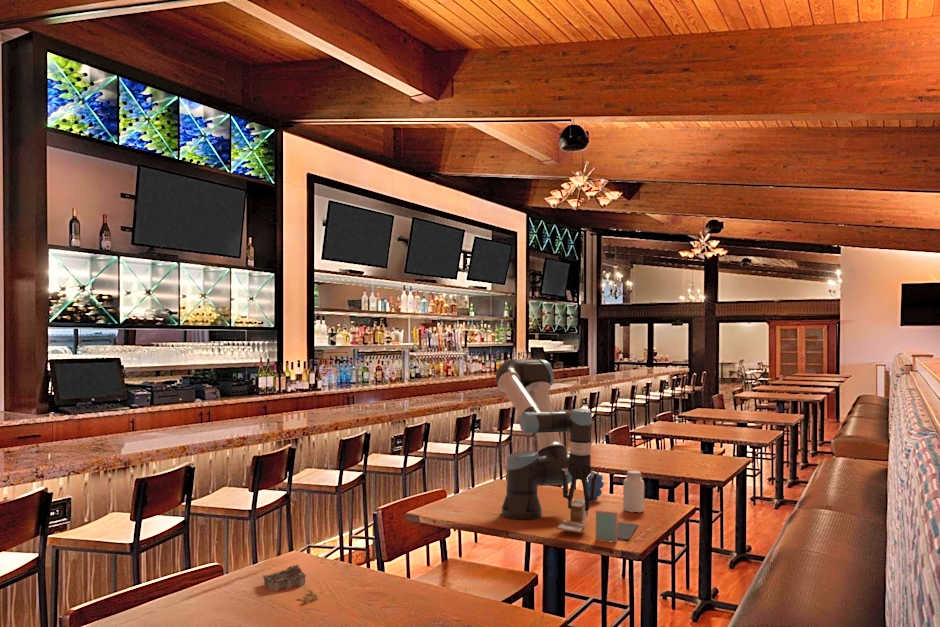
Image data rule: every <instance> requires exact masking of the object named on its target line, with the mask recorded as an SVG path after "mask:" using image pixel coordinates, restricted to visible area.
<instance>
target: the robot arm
mask: <svg viewBox="0 0 940 627" xmlns="http://www.w3.org/2000/svg"><path fill="white" fill-rule="evenodd" d="M494 378H495V379H494V380H495V384H496V386H497V387H498V389H499V391H501V392H502V393H503V394H504V393H505V395H506V396H507V398H508V400H509V401H510V403H511V404H512V405H513V407H514V409H515V410H516V411H517V413H518V414H519V419H518V421H519V423H518V424H519V426H520V430H521V431H522V432H523V433H524V434H525V433H526V434H536V439H537V443H538V447H539V449H538V450H537V451H536V450H521V451H515V452H512V453H510V454H509V455H508V457H507V461H506V494H505V496H504V500H503V502H502V507H501V515H502V516H503V517H504V518H509V519H513V520H533V519H534V520H535V519H538V518H541V517H542V515H543V514H542V513H543V509H542V506H541V503H540V499H539V495H538V487H541V486H542V487H543V486H562V496H563V498H565V499H567V501H568V502H567V509H568V510H569V509H570V510H571V505H572V504H573V503H574V502H575V501H576V499H575V498H574V494H575V490H576V484H577V481H578V480H580V481H581V483H582V490H583V496H584V498H583V499H585V500H584V501H583V514H582V521H583V522H585V521H586V520H587V517H586V511H588V512H589V510H590V503H591V502H593V500H594V499H595V490H596V479H597V477H598V475H599V472H598V471H595V470H593V469H592V467H591V464H592V463H591V462H592V461H591V459H592V458H591V457H592V456H591V453H592V433H593V432H592V428H593V418H592V417H593V416H592V412H591V410H589V409H585V408H574V409H572V410H570V409H560V410H557V411H554V409H553V406H552V402H551V396H550V393H549V391H550V390H551V388H552V386H553V384H554V379H555V378H554V371H553V367H552V365H551V364H550V362H548V360H545V359H543V358H542V359H541V358H540V359H539V358H530V359H526V358H524V359H523V358H517V359H516V358H513V359H508V360H505V361H503V362H502V363H501V364H500V365H499V366H498V368H497V369H496V372H495V376H494ZM562 432H563V433H565V432H566V433H569V452H568V451H567V446H565V445H564V444H563V443H562V442H561V438H560V434H559V433H562ZM595 472H596V473H595ZM597 472H598V473H597ZM590 475H591V477H592V483H591V493H590V497H589V491H588V484H587V482H588V477H589V476H590ZM569 484H570V487H569ZM568 487H569V488H568ZM590 501H591V502H590Z"/></svg>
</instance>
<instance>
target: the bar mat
mask: <svg viewBox="0 0 940 627" xmlns="http://www.w3.org/2000/svg"><path fill="white" fill-rule="evenodd" d="M638 527H639V524H638V523H629V522H628V523H627V522H619V521H618V533H617V539H622V540H621V541H623V540H629V541H630V540H631V539H630V538H632V537H633V536H634V534H635V532H636V530H637V529H638ZM636 528H637V529H636ZM633 533H634V534H633ZM631 536H632V537H631Z"/></svg>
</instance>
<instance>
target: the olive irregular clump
mask: <svg viewBox="0 0 940 627" xmlns="http://www.w3.org/2000/svg"><path fill="white" fill-rule="evenodd" d="M304 594H305V595H304V597H303V598H302V597H297V598H296V601H302V602H303V604H305V605H306V604H308V605H309V604H310V599H311V601H314V602H315V601H317V600H318V593H316V592H315V593H314V590H313V589H307V591H306V592H305V593H304Z"/></svg>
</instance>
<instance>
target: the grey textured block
mask: <svg viewBox="0 0 940 627" xmlns="http://www.w3.org/2000/svg"><path fill="white" fill-rule="evenodd" d="M306 577H307V574H306V573H305V572H303V571H302V568H301V567H300V566H299V564H293V565H290V566H289V567H287V568H286V569H282V570H280V571H278V572H273V573H270V574H269V575H267V574H266V575H262V578H263V586H264V587H265V588H266V587H267V590H268V591H274V592H278V591H280V589H291V588H292V587H295V586H296V587H303V586H304V584H306Z"/></svg>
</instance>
